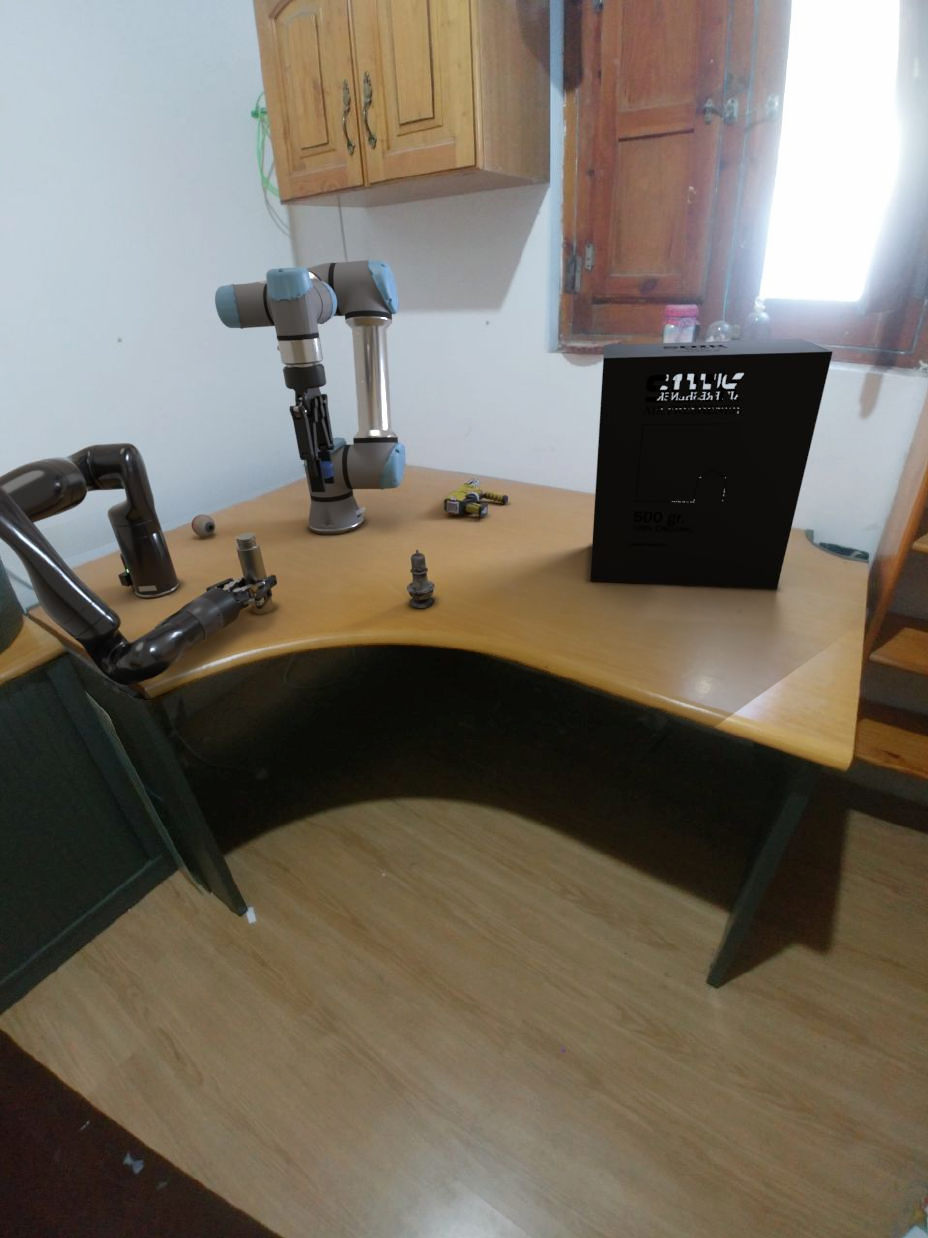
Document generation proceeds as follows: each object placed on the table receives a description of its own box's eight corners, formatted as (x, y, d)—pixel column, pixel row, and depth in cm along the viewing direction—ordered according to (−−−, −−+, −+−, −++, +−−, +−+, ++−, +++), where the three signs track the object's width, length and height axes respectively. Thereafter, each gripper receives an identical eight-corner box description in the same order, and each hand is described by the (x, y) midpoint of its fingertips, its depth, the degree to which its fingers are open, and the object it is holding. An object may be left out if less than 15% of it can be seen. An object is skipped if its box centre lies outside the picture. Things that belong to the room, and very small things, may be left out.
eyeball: (204, 541, 163) (198, 520, 160) (190, 537, 166) (184, 517, 163) (223, 533, 168) (217, 513, 165) (208, 530, 171) (202, 510, 168)
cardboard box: (756, 549, 141) (800, 338, 118) (776, 589, 124) (832, 351, 101) (592, 544, 148) (604, 344, 126) (590, 580, 131) (603, 357, 109)
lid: (324, 470, 125) (322, 459, 123) (339, 474, 122) (337, 462, 121) (304, 477, 121) (302, 465, 120) (320, 480, 119) (317, 468, 117)
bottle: (260, 616, 126) (241, 542, 117) (248, 609, 128) (229, 537, 120) (278, 607, 128) (260, 534, 120) (266, 601, 131) (248, 530, 123)
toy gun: (516, 483, 183) (470, 476, 187) (493, 506, 163) (442, 498, 167) (515, 498, 186) (469, 491, 190) (492, 523, 166) (441, 514, 170)
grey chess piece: (432, 609, 124) (427, 555, 118) (404, 607, 125) (398, 554, 119) (439, 596, 129) (434, 544, 123) (412, 594, 130) (407, 543, 124)
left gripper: (231, 603, 110) (289, 565, 123) (173, 592, 115) (234, 556, 128) (241, 638, 113) (296, 597, 127) (184, 626, 118) (242, 588, 132)
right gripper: (302, 358, 119) (321, 474, 131) (262, 371, 104) (288, 501, 116) (338, 357, 118) (354, 474, 130) (303, 370, 103) (326, 501, 115)
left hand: (265, 577), depth 127 cm, fingers closed on bottle, 4 cm apart
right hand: (323, 486), depth 123 cm, fingers closed on lid, 5 cm apart
